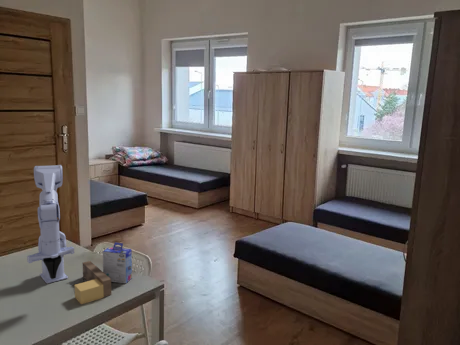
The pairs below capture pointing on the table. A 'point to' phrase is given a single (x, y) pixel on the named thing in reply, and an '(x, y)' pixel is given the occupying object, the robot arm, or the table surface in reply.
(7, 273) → the table surface
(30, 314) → the table surface
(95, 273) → the walnut block
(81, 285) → the ochre block
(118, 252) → the ink cartridge box
